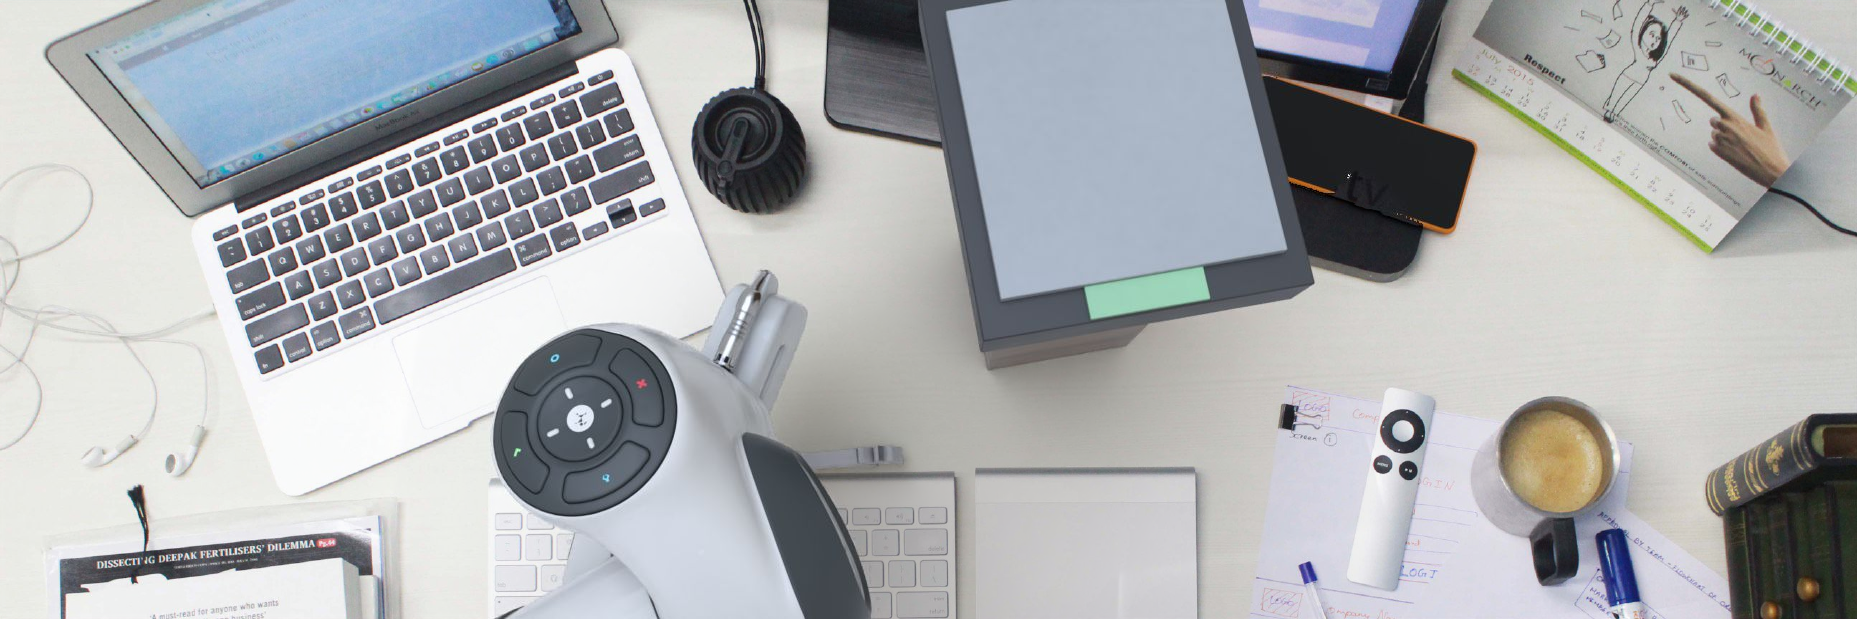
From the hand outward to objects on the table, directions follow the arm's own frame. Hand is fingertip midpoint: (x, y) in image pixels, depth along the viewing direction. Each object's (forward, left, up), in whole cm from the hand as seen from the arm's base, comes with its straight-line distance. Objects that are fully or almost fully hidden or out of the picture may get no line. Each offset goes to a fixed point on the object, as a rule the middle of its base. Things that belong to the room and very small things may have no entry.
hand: (736, 462), depth 67 cm
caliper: (0, 0, -7) cm, 7 cm away
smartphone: (+15, -46, -6) cm, 49 cm away
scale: (+9, -22, +22) cm, 32 cm away
